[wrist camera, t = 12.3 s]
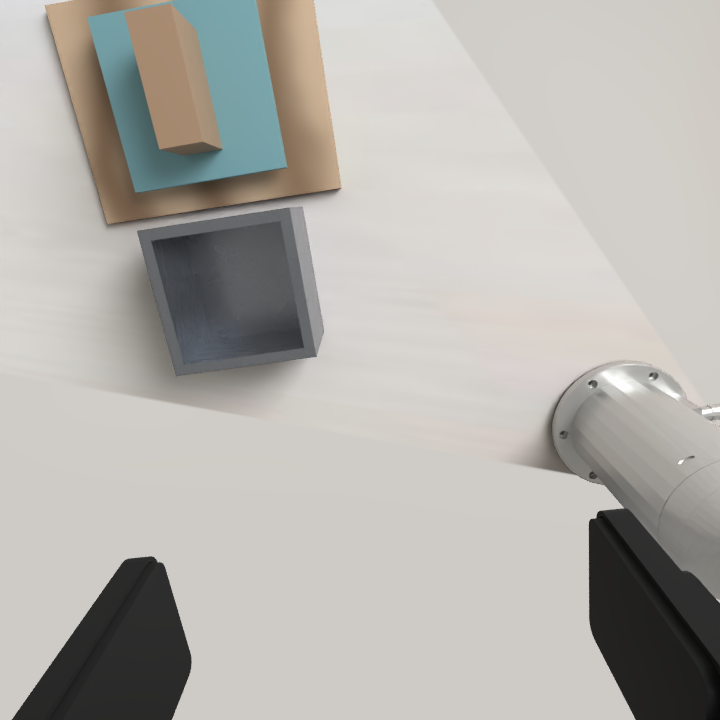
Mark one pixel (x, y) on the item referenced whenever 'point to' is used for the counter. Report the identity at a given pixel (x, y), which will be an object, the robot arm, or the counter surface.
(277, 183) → the wooden board
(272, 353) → the tin
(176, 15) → the lid
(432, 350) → the counter surface
